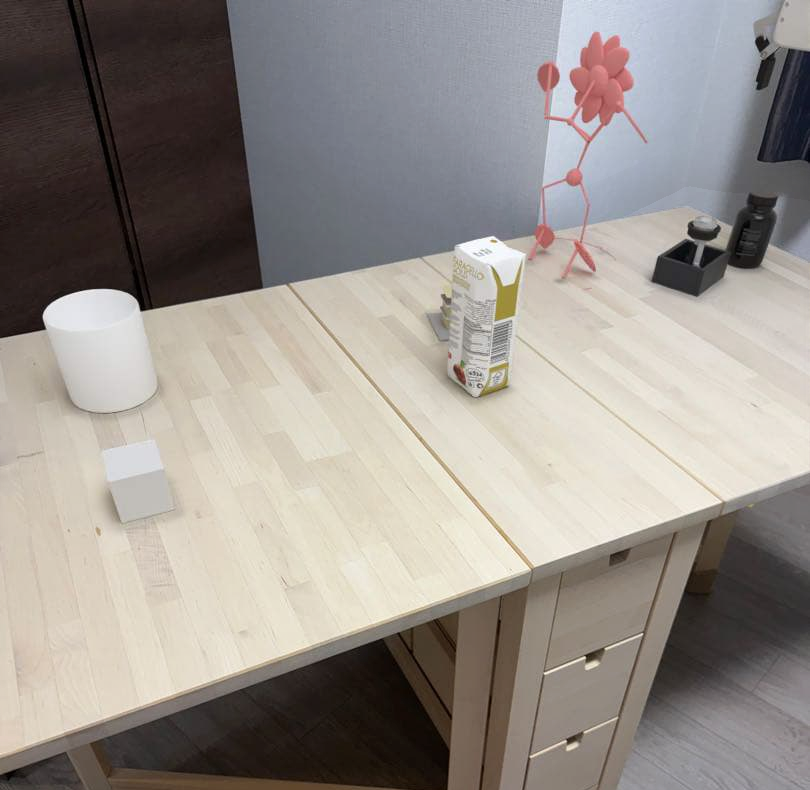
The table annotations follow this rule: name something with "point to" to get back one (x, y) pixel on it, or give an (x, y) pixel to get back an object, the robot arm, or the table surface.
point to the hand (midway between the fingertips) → (792, 94)
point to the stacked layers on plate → (443, 315)
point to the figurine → (588, 113)
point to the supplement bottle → (752, 229)
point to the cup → (101, 349)
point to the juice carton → (484, 314)
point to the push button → (700, 238)
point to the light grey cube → (137, 480)
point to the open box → (690, 268)
